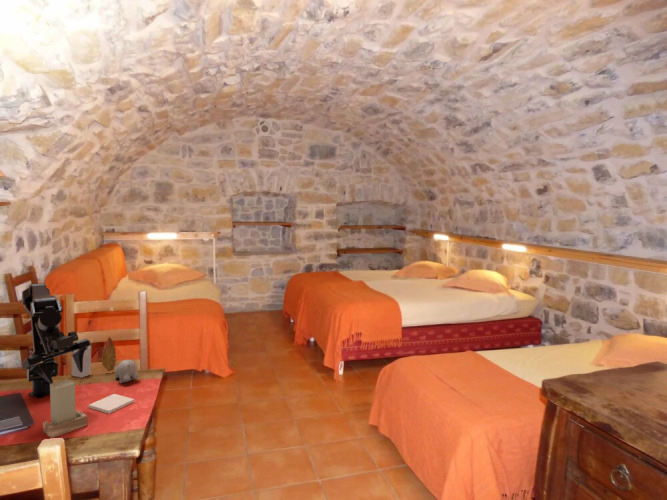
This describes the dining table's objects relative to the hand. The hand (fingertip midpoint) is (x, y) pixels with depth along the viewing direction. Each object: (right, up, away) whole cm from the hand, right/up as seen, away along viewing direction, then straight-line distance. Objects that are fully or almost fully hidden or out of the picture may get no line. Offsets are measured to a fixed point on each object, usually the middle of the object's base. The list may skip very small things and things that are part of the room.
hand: (67, 377), depth 135 cm
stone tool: (-8, -10, +40) cm, 42 cm away
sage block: (+3, -14, -6) cm, 15 cm away
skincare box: (-17, -10, +35) cm, 40 cm away
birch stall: (+4, -14, -7) cm, 16 cm away
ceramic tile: (+9, -13, +10) cm, 19 cm away
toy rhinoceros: (+3, -11, +31) cm, 33 cm away
